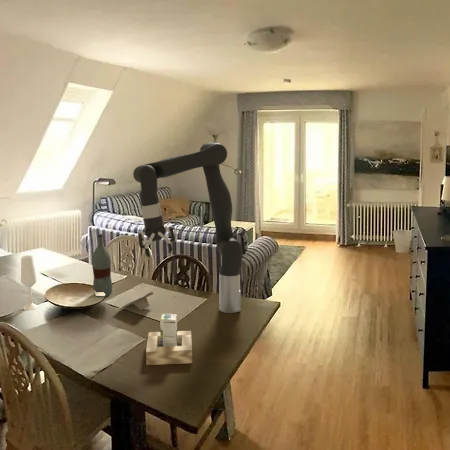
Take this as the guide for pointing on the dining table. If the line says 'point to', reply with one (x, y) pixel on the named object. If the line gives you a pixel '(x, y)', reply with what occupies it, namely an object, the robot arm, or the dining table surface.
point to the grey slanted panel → (139, 302)
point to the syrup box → (168, 330)
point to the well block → (169, 349)
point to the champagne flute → (28, 278)
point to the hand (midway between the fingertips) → (159, 254)
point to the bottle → (102, 268)
